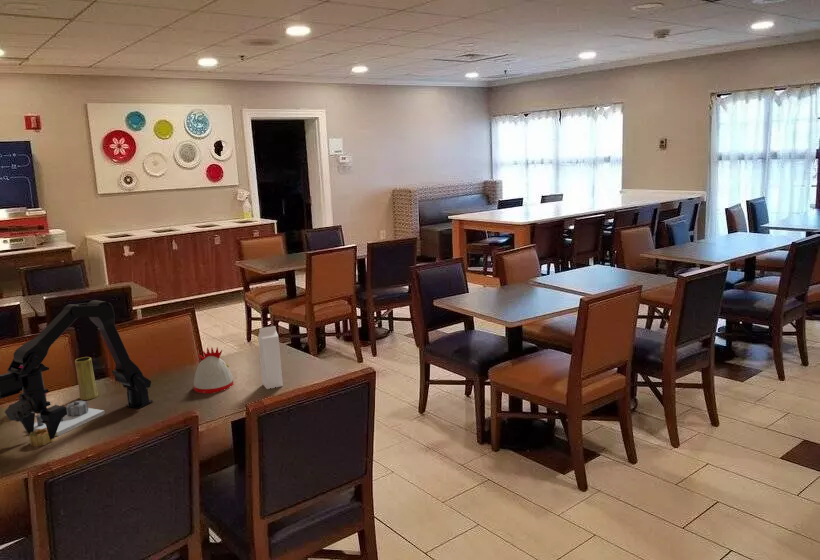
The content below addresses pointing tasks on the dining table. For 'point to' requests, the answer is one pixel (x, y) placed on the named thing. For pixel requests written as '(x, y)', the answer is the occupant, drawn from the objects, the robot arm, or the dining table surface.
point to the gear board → (72, 417)
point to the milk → (270, 357)
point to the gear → (39, 437)
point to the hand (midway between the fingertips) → (41, 436)
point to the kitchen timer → (212, 373)
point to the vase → (86, 378)
